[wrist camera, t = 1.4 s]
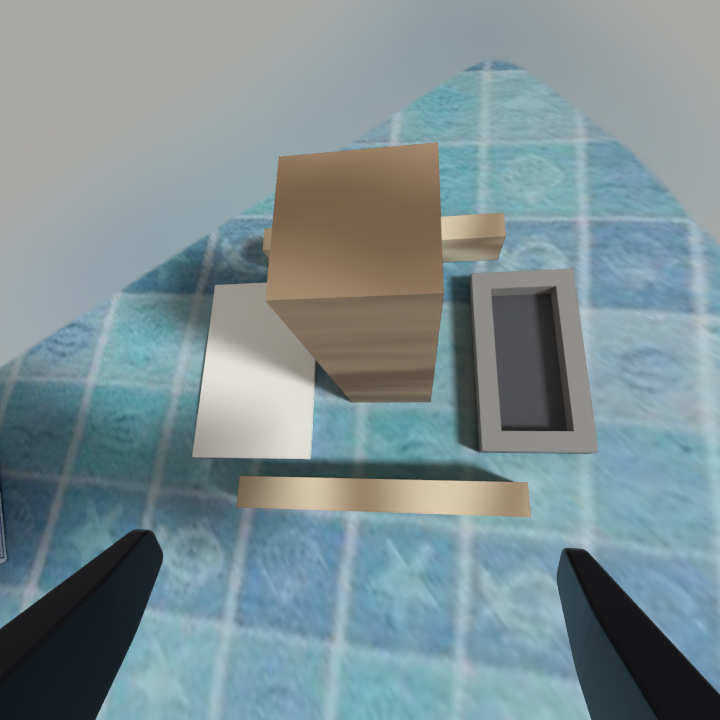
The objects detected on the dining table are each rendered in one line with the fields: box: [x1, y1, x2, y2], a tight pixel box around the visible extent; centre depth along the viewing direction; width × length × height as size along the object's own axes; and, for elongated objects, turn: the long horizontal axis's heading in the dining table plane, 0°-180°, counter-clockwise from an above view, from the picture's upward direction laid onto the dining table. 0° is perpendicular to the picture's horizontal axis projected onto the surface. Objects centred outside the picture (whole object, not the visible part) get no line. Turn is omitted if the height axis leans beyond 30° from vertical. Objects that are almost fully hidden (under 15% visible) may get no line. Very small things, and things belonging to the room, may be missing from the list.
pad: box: [192, 283, 316, 459], centre depth 25 cm, size 7×11×1 cm, turn 179°
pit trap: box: [469, 269, 598, 454], centre depth 23 cm, size 6×10×1 cm, turn 179°
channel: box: [237, 213, 531, 517], centre depth 23 cm, size 14×16×2 cm
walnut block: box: [265, 142, 444, 402], centre depth 18 cm, size 4×4×14 cm
